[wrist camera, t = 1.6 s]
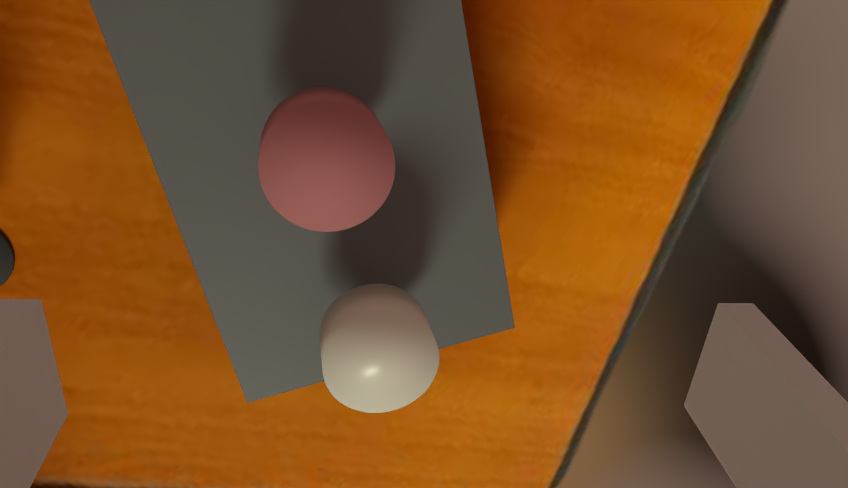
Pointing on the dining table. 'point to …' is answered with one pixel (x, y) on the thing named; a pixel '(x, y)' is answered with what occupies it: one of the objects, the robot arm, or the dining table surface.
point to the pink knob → (325, 160)
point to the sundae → (5, 259)
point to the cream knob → (377, 348)
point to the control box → (239, 153)
